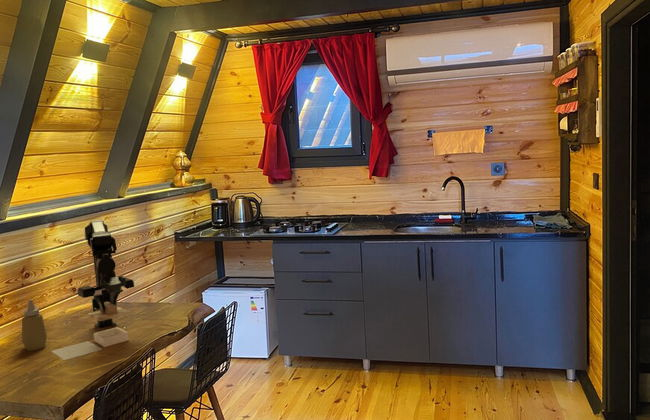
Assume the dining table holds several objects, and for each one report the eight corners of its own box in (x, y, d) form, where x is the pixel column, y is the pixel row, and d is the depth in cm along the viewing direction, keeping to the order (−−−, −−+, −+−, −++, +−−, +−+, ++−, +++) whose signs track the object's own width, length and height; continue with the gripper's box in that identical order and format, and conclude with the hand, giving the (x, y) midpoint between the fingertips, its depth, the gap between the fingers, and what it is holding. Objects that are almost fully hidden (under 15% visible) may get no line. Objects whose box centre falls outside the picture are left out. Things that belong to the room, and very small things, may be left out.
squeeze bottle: (23, 354, 202) (17, 304, 200) (23, 347, 209) (17, 299, 207) (48, 349, 206) (43, 300, 203) (47, 343, 213) (42, 295, 211)
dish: (94, 342, 211) (93, 333, 211) (118, 335, 217) (117, 326, 217) (104, 348, 205) (103, 338, 204) (128, 341, 211) (127, 332, 210)
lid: (87, 315, 210) (86, 305, 210) (117, 308, 218) (116, 298, 217) (100, 321, 202) (99, 310, 202) (130, 313, 210) (129, 303, 209)
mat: (51, 352, 203) (50, 350, 203) (88, 342, 212) (88, 340, 212) (64, 361, 193) (64, 360, 193) (102, 350, 202) (102, 349, 202)
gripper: (87, 276, 196) (91, 321, 197) (139, 266, 208) (142, 308, 210) (75, 272, 204) (79, 315, 206) (125, 262, 216) (129, 303, 218)
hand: (108, 310), depth 210 cm, fingers closed on lid, 3 cm apart
